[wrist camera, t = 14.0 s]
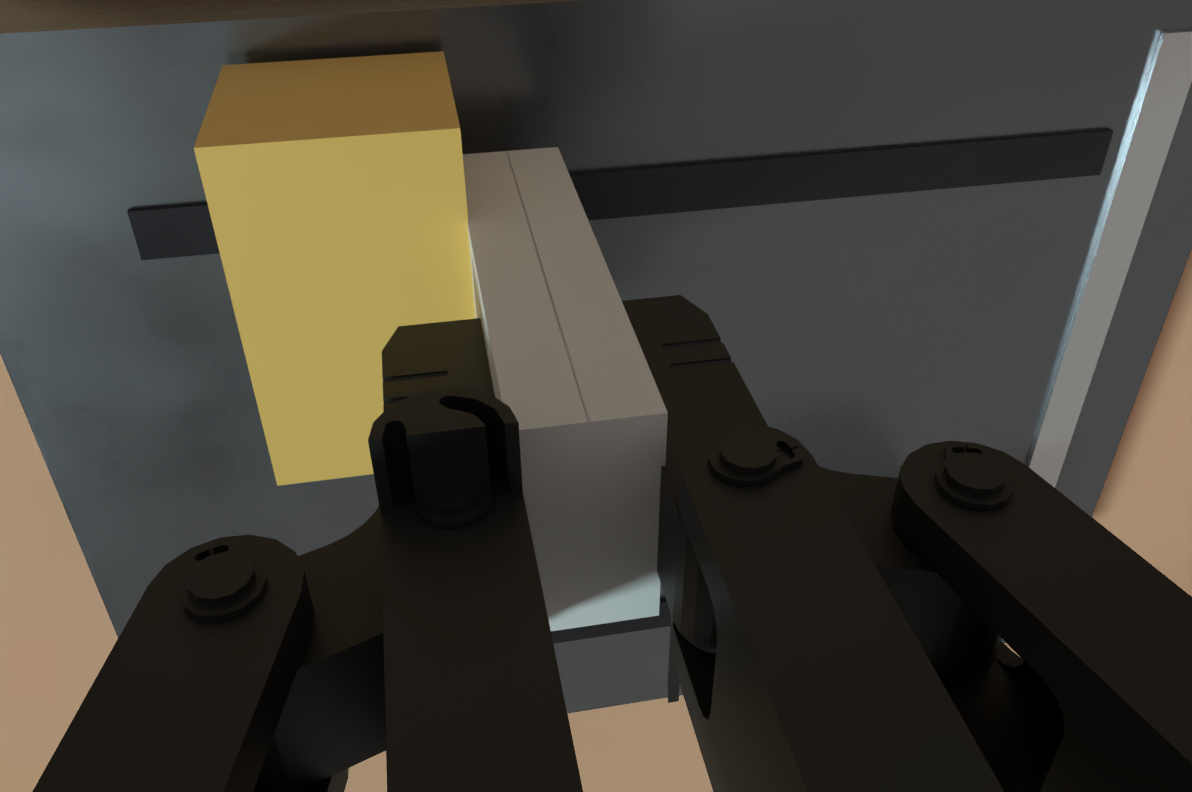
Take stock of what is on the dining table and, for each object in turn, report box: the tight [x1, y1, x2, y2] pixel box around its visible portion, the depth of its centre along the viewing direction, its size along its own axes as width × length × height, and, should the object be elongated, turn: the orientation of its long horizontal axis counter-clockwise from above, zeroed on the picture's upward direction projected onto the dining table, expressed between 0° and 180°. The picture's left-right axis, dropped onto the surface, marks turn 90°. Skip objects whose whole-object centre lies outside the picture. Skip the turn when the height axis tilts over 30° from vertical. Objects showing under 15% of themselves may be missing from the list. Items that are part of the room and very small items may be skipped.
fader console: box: [0, 0, 1192, 713], centre depth 21 cm, size 21×16×3 cm
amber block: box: [194, 51, 476, 486], centre depth 14 cm, size 3×5×3 cm, turn 0°
